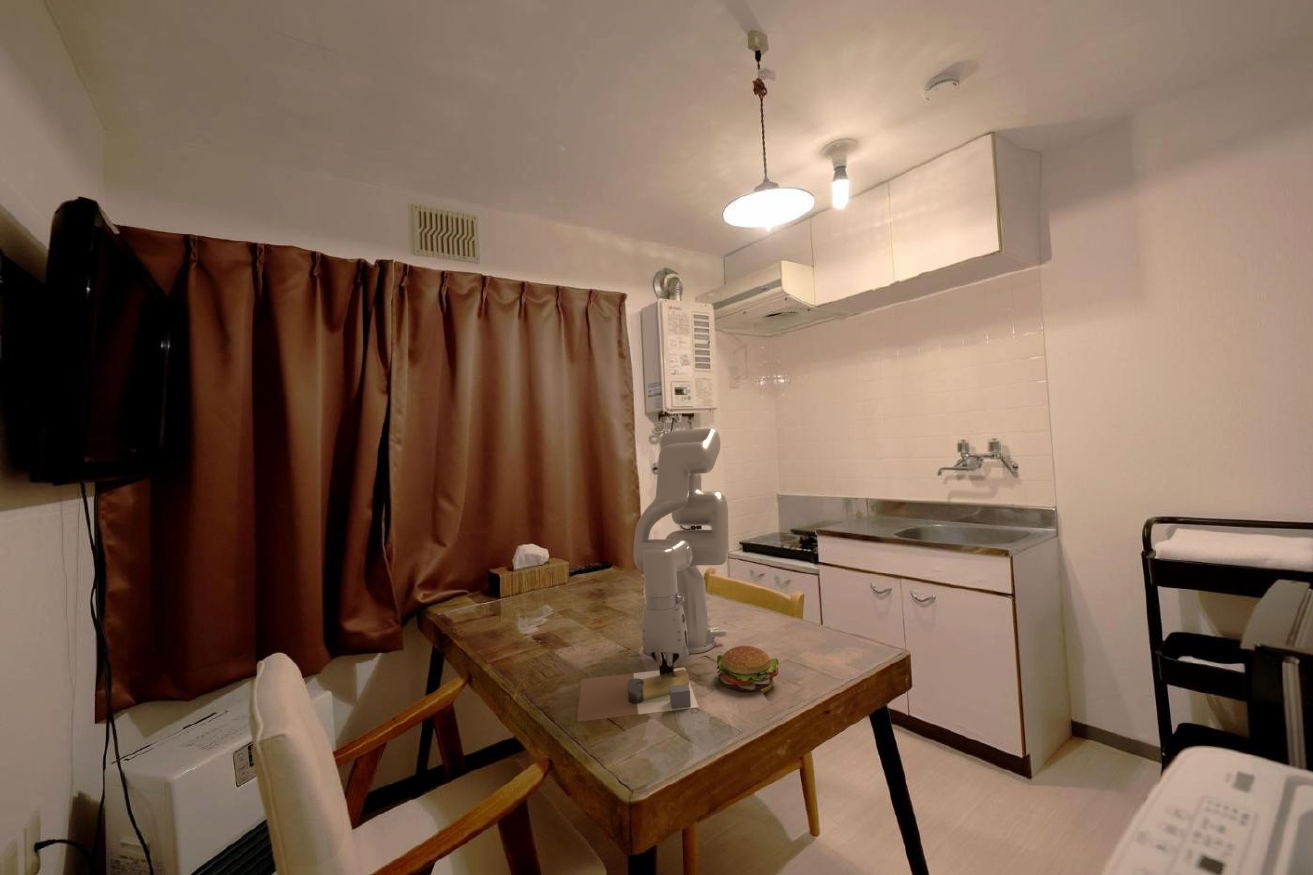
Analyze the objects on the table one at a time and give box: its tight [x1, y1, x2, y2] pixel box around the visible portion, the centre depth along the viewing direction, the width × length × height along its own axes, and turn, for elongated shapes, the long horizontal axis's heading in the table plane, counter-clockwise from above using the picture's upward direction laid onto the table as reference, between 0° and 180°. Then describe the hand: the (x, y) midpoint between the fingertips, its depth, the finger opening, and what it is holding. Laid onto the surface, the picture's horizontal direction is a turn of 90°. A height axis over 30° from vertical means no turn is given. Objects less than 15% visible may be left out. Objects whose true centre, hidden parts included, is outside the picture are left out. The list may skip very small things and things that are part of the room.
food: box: [716, 645, 780, 694], centre depth 117 cm, size 14×14×8 cm
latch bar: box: [627, 669, 690, 703], centre depth 112 cm, size 14×4×4 cm, turn 111°
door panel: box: [576, 667, 699, 723], centre depth 114 cm, size 25×19×5 cm
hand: (667, 681), depth 117 cm, fingers closed
